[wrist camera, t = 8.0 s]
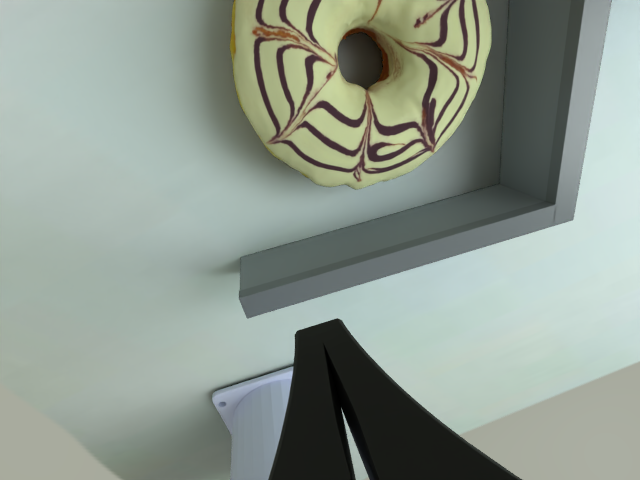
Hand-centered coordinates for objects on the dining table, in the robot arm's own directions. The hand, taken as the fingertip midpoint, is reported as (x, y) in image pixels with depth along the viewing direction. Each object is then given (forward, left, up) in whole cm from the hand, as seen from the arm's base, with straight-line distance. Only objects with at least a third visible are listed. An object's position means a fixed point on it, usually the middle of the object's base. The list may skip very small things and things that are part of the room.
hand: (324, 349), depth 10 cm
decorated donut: (+7, -5, -10) cm, 13 cm away
